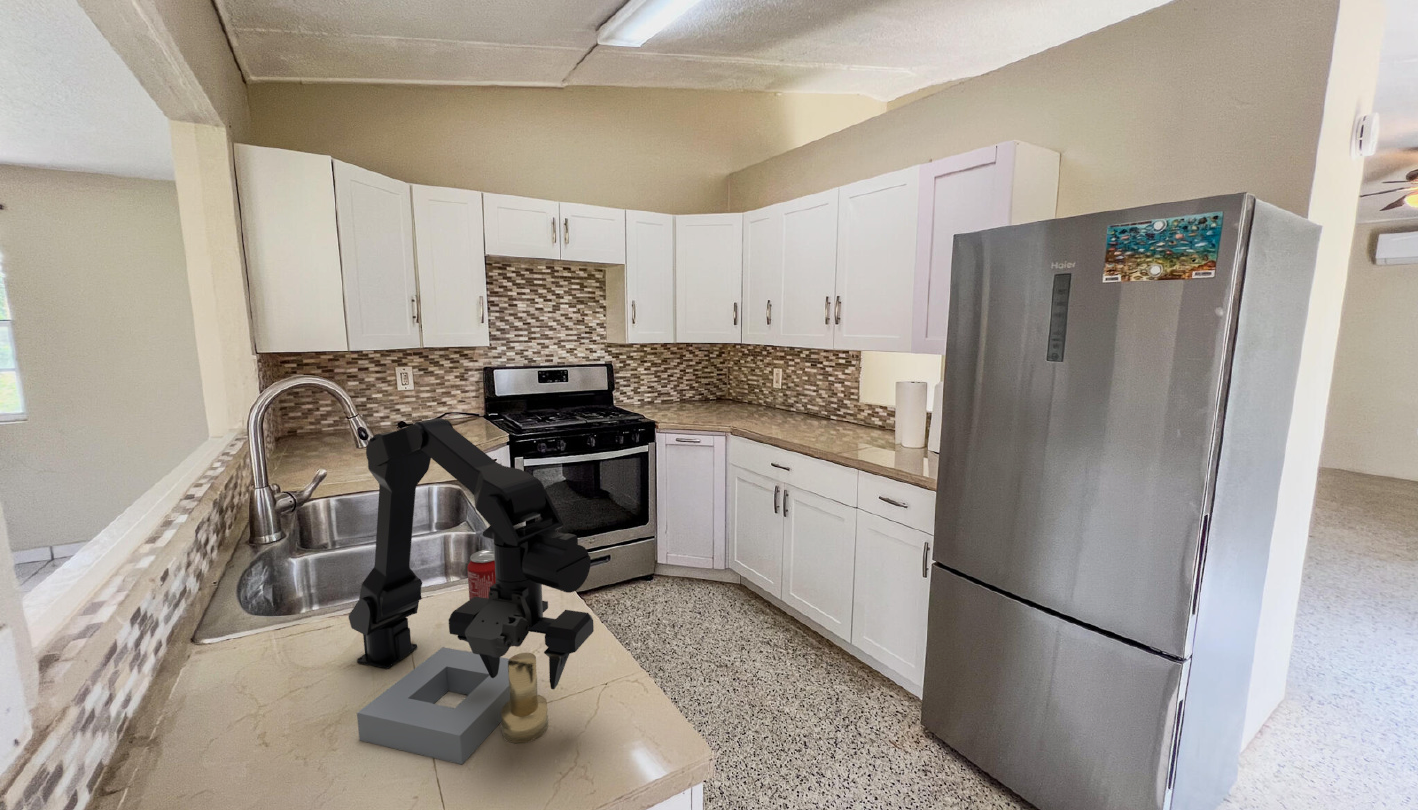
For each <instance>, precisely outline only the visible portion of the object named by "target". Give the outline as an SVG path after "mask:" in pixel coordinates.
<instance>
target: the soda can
mask: <svg viewBox="0 0 1418 810" xmlns="http://www.w3.org/2000/svg"><path fill="white" fill-rule="evenodd" d="M469 558H470V562H469V563H468V564H467V580H468V581H467V583H468V601H469V600H470V599H472V598H473V597H482V598H489V594H488V593H489V591H490V587H491V586H492V585H494V584H495V583H496V577H495V558H494V548H493V549H491V548H490V549H482V550H479V551H476V552H474V553H472V554H471V556H470V557H469Z"/></svg>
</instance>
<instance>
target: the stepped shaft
mask: <svg viewBox="0 0 1418 810" xmlns="http://www.w3.org/2000/svg"><path fill="white" fill-rule="evenodd" d="M508 659H509V661H508V674H509V692H510V700H509V701H508V702H507V703H506V704H505V705H504V706H503V708H502V710H501V719H502V721H501V731H502V732H501V733H502V737H503V739H504V740H505V741H507V742H509V743H511V744H518V745H519V744H527V743H530V742H533V741H535V740H537V739H538V738H540V737H542V735H543V734H545V732H546V731H547V729H548V727H549V714H548V713H549V712H548V701H547V699H546V698H545V697H544V696H543V695H541V694H539V692H538V675H537V673H538V672H537V656H536V655H535V654H534V653H532V652H520V653H516V654H514V655H513V656H511V657H510V658H508Z"/></svg>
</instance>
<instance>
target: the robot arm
mask: <svg viewBox="0 0 1418 810" xmlns="http://www.w3.org/2000/svg"><path fill="white" fill-rule="evenodd" d="M365 455H366V459H367V468H368V471H369V472H370V473H371V475H372V476H373V478H374V479H375V480H376V481H377V483H378V487H379V489H378V490H379V491H378V503H377V505H378V506H377V522H376V537H375V552H374V566H373V568H372V569H371V570H370V572H369V574H367V576H366V578H365V579H364V580H363V581H362V583H361V586H360V587H361V588H360V592H359V593H360V594H359V598H358V601H356V604H355V605H354V606H353V608H352V610H351V611H350V612H349V614H348V620H349V623H350V624H349V625H350V627H351V629H353V630H354V631H356V632H358V633H360V634H362V636H363V638H362V639H363V648H364V654H363V655H362V656H360V657H358V658H357V659H356V663H358V664H361V665H367V666H372V667H379V668H383V669H390V668H391V667H393V666H394V665H395V664H397V663H398V662H400V661H401V660H403V659H404V658H405V657H407V656H408V655H409V654H411V653H412V652H414V651H415V650H416V649H417V648H418V644H417V643H413V642H412V641H411V639H412V638H411V629H410V627H409V619H408V617H410V616H412V615H415V614H418V609H419V602H420V601H421V600H422V599H423V598H422V586H423V581H422V580H421V578H419V577H418V576H417V575H416V573H415V572H414V571H413V570H412V569H411V565H410V564H411V554H412V553H411V551H412V541H413V530H414V529H413V528H414V515H415V505H416V504H415V503H416V491H417V490H416V489H417V486H418V485H419V484H420V482H421V480H422V479H423V478H424V476H425V475H426V474H427V472H428V471H429V469H430V465H431V460H433V461H434V462H435V463H436V464H438V465H439V466H440V467H441V468H442V469H444V470H445V471H446V472H447V473H448V474H449V475H450V476H452V478H454V479H456V480H457V481H458V482H459V483H460V484H461V485H462V486H463V487H464V488H466V489H467V490H468V491H469V492H470V493H471V494H472V495H473V499H474V508H475V510H476V511H477V512H478V513H479V514H480V515H481V516H482V517H483V519H484V520H485V521H486V522H487V524H488V525H489V526H488V527H487V528H486V529H485V530H484V531H483V532H482V536H483V537H484V538H485V539H490V540H493V549H494V558H495V577H496V583H495V584H494V585H492V586H491V587H490V591H489V593H488V594H489V598H482V597H473V598H472V599H470V600H469V599H468V600H467V601H466V602H464V603H463V604H462V605H460V606H459V607H457V608H456V609H454V610H453V611H452V612H451V613H450V616H449V618H448V633H449V634H450V635H455V636H456V637H457V639H458V640H460V641H463V642H466V643H468V645H469V648H470V650H471V652H473V653H474V654H479V655H480V657H481V659H482V661H483V663H484V665H485V667H486V669H487V671H488V673H489V675H490V677H491V678H495V677H496V676H497V675H498V671H499V664H500V657H502V658H503V656H505V655H506V654H507V653H508V651H509V650H510V648H511V647H517V648H518V647H521V645H522V644H523V642H524V641H525V640H526V637H528V635H529V633H530V632H532V633H536V634H537V633H538V634H544V645H545V646H546V647H547V648H546V649H545V650H544V652H543V653H544V655H545V656H547V657H548V664H549V665H548V667H549V668H548V669H549V671H548V673H549V684H550V685H549V686H550V689H551V690H555V689H556V688H557V686H558V685H559V682H560V679H561V677H562V674H563V671H564V670H565V666H566V664H567V661H568V658H569V656H570V654H573V653H576V652H577V651H578V650H579V649H580V647H582V645H583V644H584V643H585V641H587V640H588V638H589V637H590V636H591V635H592V634H593V633H594V631H595V630H594V629H595V628H594V627H595V626H594V618H593V616H592V615H591V614H590V613H589V612H585V611H577V610H571V609H565V610H563V612H561V614H559V615H558V616H557V617H556V618H553V617H547V616H544V613H545V612H546V611H547V610H549V601H548V600H543V586H545V587H549V588H551V589H555V590H557V591H560V592H564V593H569V594H570V593H574V592H575V591H577V590H579V589H580V588H581V587H582V586H583V584H584V583H585V581H586V580H587V579H588V576H589V573H590V569H591V564H592V563H591V561H592V560H591V556H590V555H589V551H588V550H587V548H586V547H584V546H583V545H581V544H579V540H578V539H579V537H578V535H577V534H573V533H563V532H559V531H556V530H559V529H562V528H563V527H564V522H563V520H562V518H561V516H560V512H559V511H558V510H557V508H556V506H555V505H554V503H553V502H552V499H551V498H550V496H549V494H548V492H547V490H546V489H545V485H544V484H543V483H542V481H540V479H539V478H538V477H536V476H534V475H533V474H530V473H528V472H527V471H524V470H523V469H521V468H516V467H510V466H506V465H503V464H500V463H498V462H497V461H496V460H494V459H493V458H492V457H490V456H489V455H488V454H487V453H485V452H484V451H483V450H482V449H480V448H479V447H478V446H476V445H475V444H474V443H473V442H472V441H470V440H469V439H468V438H466V436H464V435H462V434H461V433H460V432H458V430H456V429H455V428H454V427H453V424H452V423H451V421H450V420H449V419H443V418H433V419H428V420H420V421H415V422H414V423H413V424H410V425H408V426H406V427H404V428H401V429H398V430H394V431H387V432H383V433H382V432H381V433H376V434H374V435H373V436H372V437H371V438H369V440H368V442H367V445H366V448H365ZM539 517H541V518H540V519H538V520H536V521H533V522H531V523H528V524H526V525H520V524H522V523H525V522H528V521H530V520H533V519H535V518H539Z"/></svg>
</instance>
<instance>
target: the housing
mask: <svg viewBox="0 0 1418 810" xmlns="http://www.w3.org/2000/svg"><path fill="white" fill-rule="evenodd" d="M509 659H510V658H508V657H507V658H506V657H503V656H502V657H500V664H499V671H498V675H497V676H496V677H495V678H491V677H490V675H489V673H488V671H487V669H486V667H485V665H484V663H483V661H482V659H481V657H480V655H479V654H474V653H473V652H472V651H467V650H461V649H456V648H450V647H444V646H442V647H441V648H440V649H438V650H437V651H436V652H434V653H433V654H431V656H429V657H428V658H427V659H425V660H424V661H423V662H421V663H420V664H418V665H417V666H416V667H415V668H413V669H412V670H411V671H410V672H408V673H407V674H406V675H405V676H403V677H402V678H401V679H399V680H398V681H396V682H395V683H394V684H393V685H391V686H389V688H387V689H386V690H385V691H383V692H382V693H381V694H380V695H378V696H377V697H376V698H374V699H372V701H370V702H369V703H367V705H365V706H364V707H363V708H361V709H360V710H359V711H357V712H356V718H357V727H358V738H359V741H361V742H366V743H370V744H374V745H378V746H382V747H386V748H391V749H395V750H400V751H404V752H407V753H412V754H416V755H421V756H425V757H429V758H433V759H436V760H437V759H438V760H442V761H446V762H451V763H454V764H458V765H463V764H464V763H465V762H466V761H467V760H468V759H469V757H470V756H472V754H473V753H474V752H475V751H476V750H477V749H478V748H479V747H480V746H481V744H482V743H483V742H484V741H485V740H486V739H487V738H488V737H489V736H490V735H491V733H493V732H494V730H495V729H496V728H497V727H498V726H499V724H500V723H502V719H501V710H502V708H503V706H504V705H505V704H506V703H507V702H508V701H509V700H510V692H509V674H508V661H509ZM448 692H452V693H457V694H462V695H467V696H466V697H465V698H464V699H463V700H461V701H460V703H458V704H457V705H455V707H451V706H445V705H442V704H437V703H436V702H438V701H439V700H440V699H441V698H442V697H443V696H444V695H446V694H447V693H448Z"/></svg>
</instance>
